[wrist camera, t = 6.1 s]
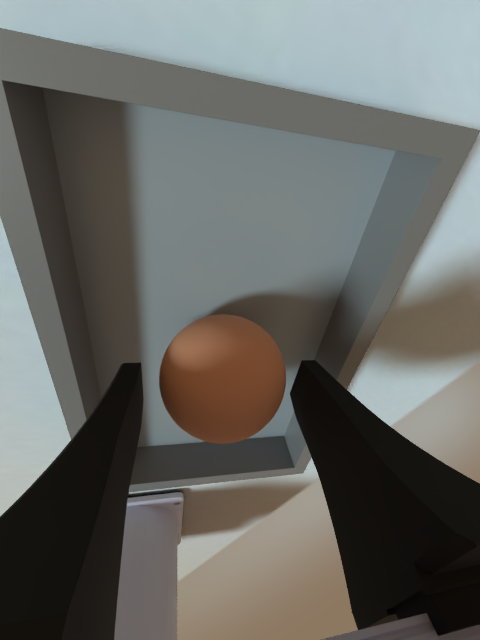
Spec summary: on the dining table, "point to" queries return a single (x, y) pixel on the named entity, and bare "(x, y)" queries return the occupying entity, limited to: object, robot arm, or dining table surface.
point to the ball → (222, 379)
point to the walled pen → (204, 229)
